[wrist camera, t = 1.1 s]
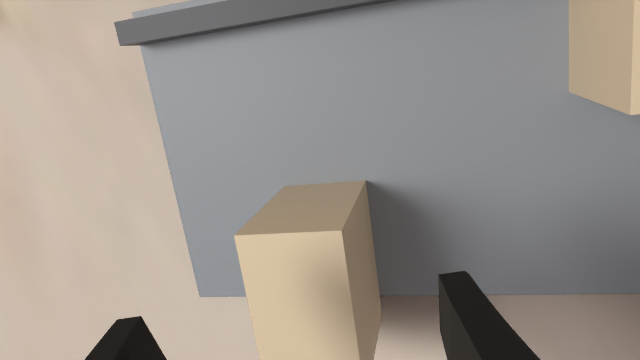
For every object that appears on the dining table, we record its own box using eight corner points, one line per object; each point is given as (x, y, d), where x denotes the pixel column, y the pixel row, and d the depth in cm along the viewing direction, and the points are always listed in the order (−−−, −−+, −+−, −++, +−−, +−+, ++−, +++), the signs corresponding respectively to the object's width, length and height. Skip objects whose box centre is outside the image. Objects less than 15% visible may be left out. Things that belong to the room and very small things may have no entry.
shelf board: (816, 279, 19) (870, 313, 16) (208, 287, 26) (186, 311, 24) (879, -131, 15) (962, -163, 13) (144, 13, 22) (111, 10, 20)
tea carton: (381, 313, 23) (365, 401, 17) (305, 313, 24) (266, 396, 18) (365, 180, 21) (341, 230, 15) (283, 186, 22) (232, 235, 16)
